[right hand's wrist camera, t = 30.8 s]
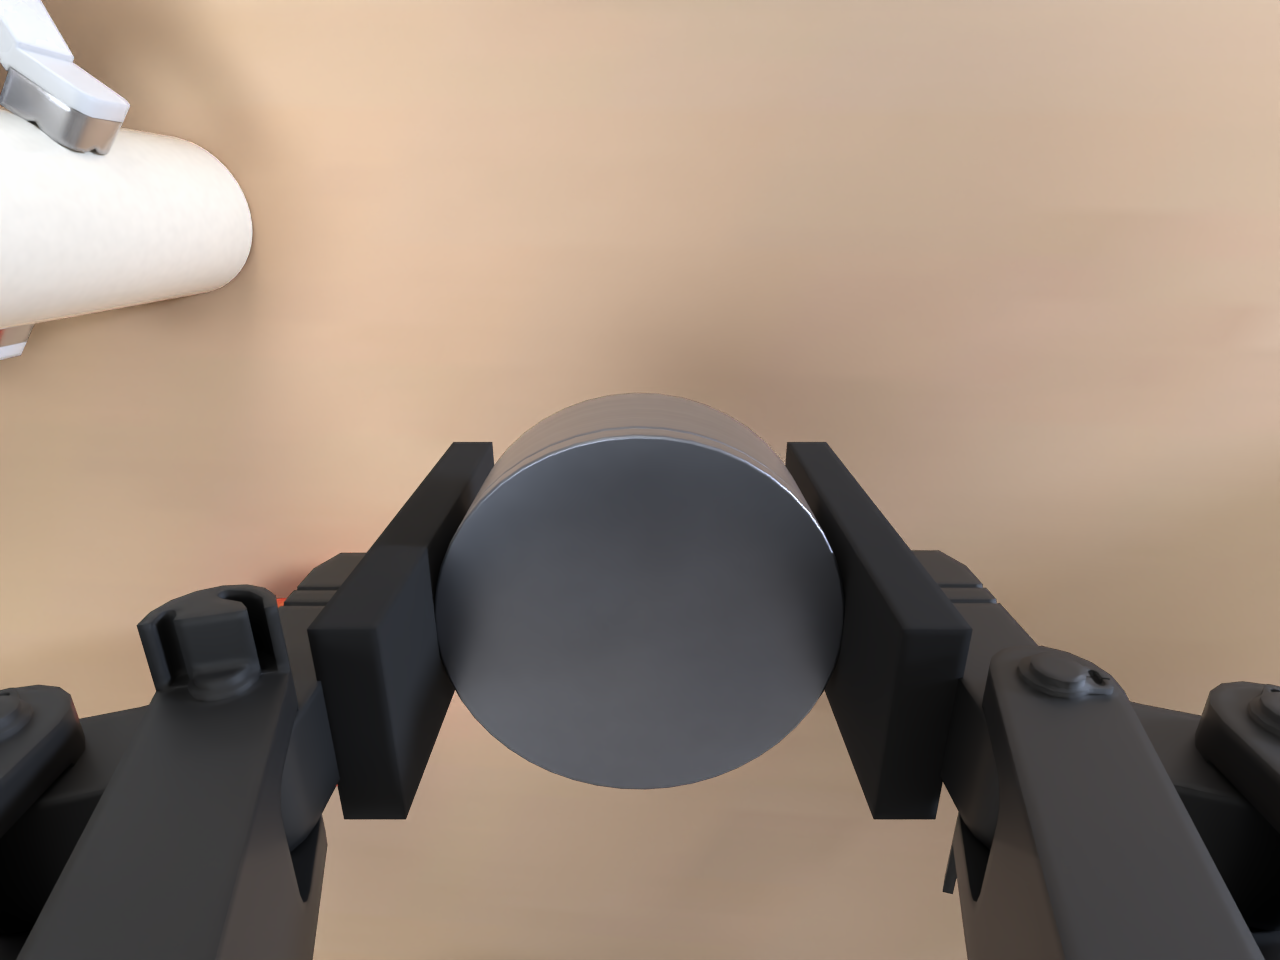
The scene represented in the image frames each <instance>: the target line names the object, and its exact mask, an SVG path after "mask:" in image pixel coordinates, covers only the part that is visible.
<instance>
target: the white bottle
mask: <svg viewBox="0 0 1280 960" xmlns="http://www.w3.org/2000/svg"><path fill="white" fill-rule="evenodd" d="M251 244H252V220H251V214H250V210H249V207H248V203H247V201H246V198H245V196H244V194H243V192H242V190H241V188H240V186H239V184H238V183H237V181H236V180H235V178H234V177H233V175H232V174H231V173H230V172H229V170H228V169H227V168H226V167H225V166H224V165H223V164H222V163H221V162H220V161H219V160H218V159H217V158H216V157H215V156H213V155H212V154H211V153H209V152H208V151H207V150H205V149H203V148H202V147H200V146H198V145H197V144H194V143H192V142H190V141H188V140H185V139H182V138H178V137H174V136H168V135H163V134H157V133H151V132H145V131H139V130H133V129H127V128H120V130H119V132H118V134H117V137H116V139H115V141H114V143H113V145H112V147H111V149H110V152H109V153H108V154H99V153H98V152H96V151H95V150H91V151H89V152H82V151H76V150H73V149H71V148H68V147H66V146H63V145H61V144H60V143H58V142H56V141H54V140H52V139H51V138H50V137H49V136H47V135H46V134H45V133H43V132H42V131H41V130H40V128H39V126H38V125H37V123H36V122H30V121H26V120H24V119H22V118H20V117H19V116H16V115H15V114H13V113H12V112H11V111H9V110H8V109H6V108H2V107H0V330H2V329H8V328H13V327H19V326H25V325H30V324H36V323H41V322H47V321H52V320H58V319H63V318H69V317H74V316H80V315H85V314H91V313H96V312H102V311H107V310H113V309H118V308H124V307H130V306H135V305H141V304H146V303H152V302H157V301H163V300H168V299H174V298H179V297H185V296H190V295H196V294H201V293H206V292H210V291H214V290H216V289H218V288H221V287H223V286H224V285H226V284H227V283H229V282H230V281H231V280H232V279H233V278H235V277H236V275H237V274H238V273H239V272H240V271H241V269H242V268H243V266H244V264H245V263H246V260H247V258H248V255H249V252H250V248H251Z"/></svg>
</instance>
